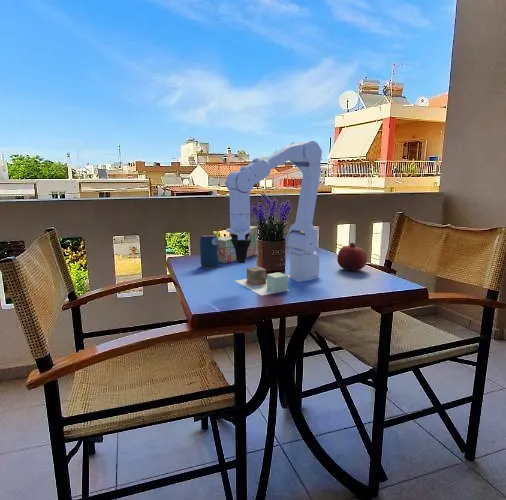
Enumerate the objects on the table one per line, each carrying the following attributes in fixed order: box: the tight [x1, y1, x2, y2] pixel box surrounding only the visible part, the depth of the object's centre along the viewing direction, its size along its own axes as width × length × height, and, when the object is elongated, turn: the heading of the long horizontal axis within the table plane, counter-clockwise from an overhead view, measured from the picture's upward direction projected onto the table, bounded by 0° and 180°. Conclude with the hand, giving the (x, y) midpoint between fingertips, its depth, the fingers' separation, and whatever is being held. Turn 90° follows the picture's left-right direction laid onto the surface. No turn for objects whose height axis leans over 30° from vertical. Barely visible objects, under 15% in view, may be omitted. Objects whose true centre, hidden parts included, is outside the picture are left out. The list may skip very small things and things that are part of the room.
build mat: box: [235, 278, 290, 296], centre depth 116 cm, size 10×17×1 cm, turn 30°
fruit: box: [336, 242, 368, 272], centre depth 134 cm, size 11×10×10 cm
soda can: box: [199, 233, 220, 269], centre depth 140 cm, size 7×7×12 cm
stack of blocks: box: [217, 225, 258, 264], centre depth 154 cm, size 21×6×12 cm, turn 141°
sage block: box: [266, 272, 289, 294], centre depth 112 cm, size 4×4×4 cm
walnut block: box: [246, 266, 267, 285], centre depth 118 cm, size 4×4×4 cm
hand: (240, 259), depth 110 cm, fingers open, 7 cm apart
